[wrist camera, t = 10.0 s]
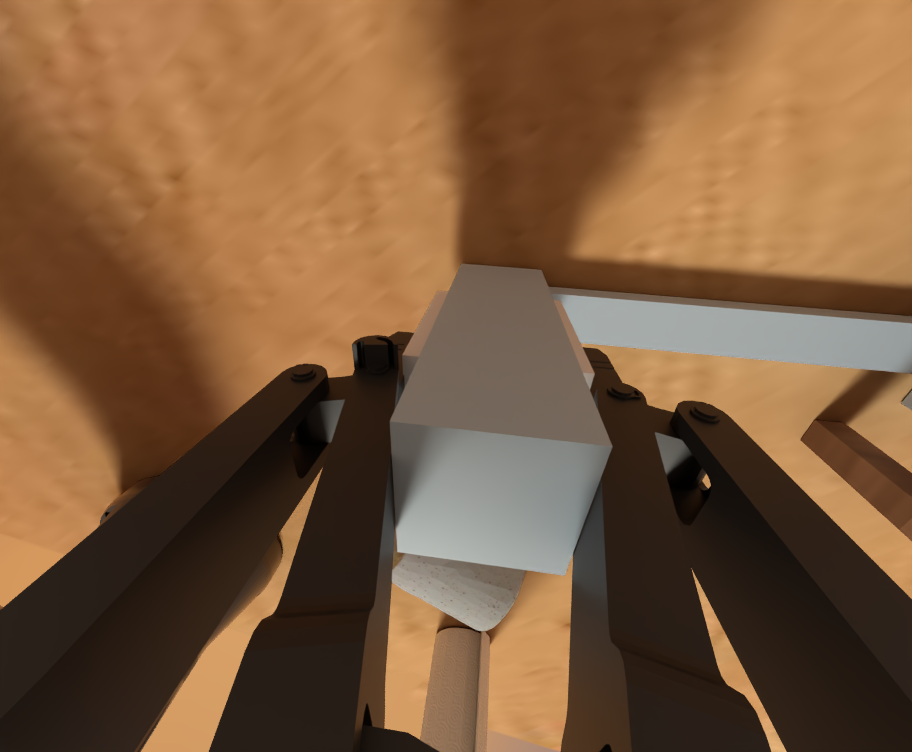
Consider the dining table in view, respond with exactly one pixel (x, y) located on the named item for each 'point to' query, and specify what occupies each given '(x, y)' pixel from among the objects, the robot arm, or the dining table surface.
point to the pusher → (564, 402)
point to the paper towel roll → (458, 692)
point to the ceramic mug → (459, 586)
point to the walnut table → (865, 470)
